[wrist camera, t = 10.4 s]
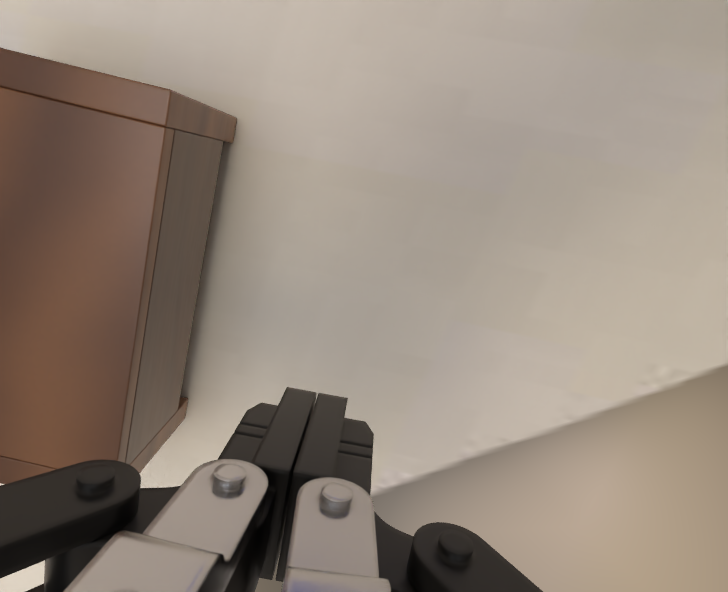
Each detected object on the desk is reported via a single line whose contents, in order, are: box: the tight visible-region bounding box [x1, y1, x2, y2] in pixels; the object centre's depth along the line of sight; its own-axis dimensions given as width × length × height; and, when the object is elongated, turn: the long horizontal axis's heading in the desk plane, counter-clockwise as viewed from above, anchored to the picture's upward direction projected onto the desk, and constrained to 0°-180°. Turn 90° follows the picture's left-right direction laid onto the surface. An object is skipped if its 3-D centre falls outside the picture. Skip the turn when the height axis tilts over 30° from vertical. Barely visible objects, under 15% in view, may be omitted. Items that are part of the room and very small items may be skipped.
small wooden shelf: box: [0, 48, 237, 484], centre depth 23 cm, size 10×16×8 cm, turn 167°
